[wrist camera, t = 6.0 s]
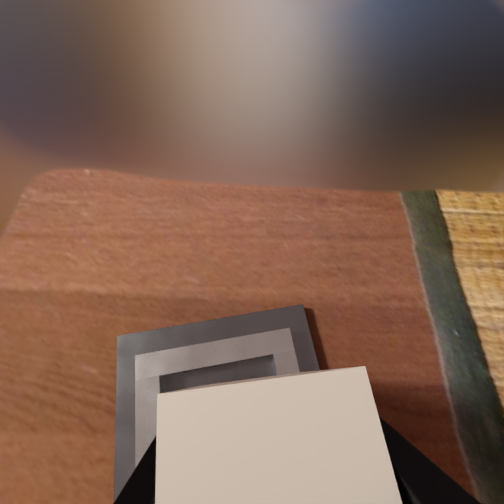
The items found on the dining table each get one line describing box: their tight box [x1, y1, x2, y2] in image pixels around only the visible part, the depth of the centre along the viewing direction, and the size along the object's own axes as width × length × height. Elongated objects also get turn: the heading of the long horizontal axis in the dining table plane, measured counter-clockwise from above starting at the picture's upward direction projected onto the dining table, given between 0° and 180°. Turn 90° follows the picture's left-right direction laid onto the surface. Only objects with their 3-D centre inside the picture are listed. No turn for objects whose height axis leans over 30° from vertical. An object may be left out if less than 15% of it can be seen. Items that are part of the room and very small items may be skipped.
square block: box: [155, 366, 402, 504], centre depth 10 cm, size 5×5×9 cm
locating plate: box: [114, 304, 320, 502], centre depth 18 cm, size 14×14×2 cm
